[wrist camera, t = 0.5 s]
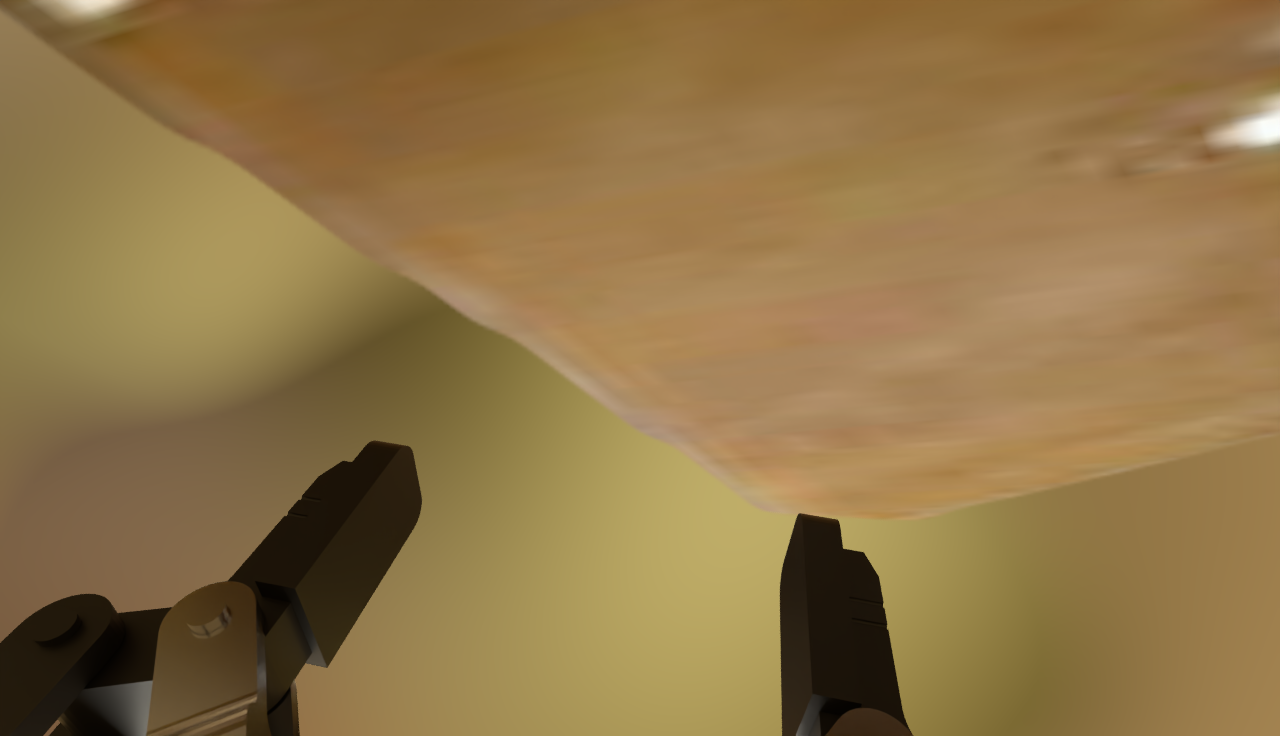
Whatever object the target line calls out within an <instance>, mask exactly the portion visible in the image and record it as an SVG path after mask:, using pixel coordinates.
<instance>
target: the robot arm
mask: <svg viewBox="0 0 1280 736" xmlns="http://www.w3.org/2000/svg"><path fill="white" fill-rule="evenodd" d="M421 505H422V497H421V491H420V486H419V481H418V476H417V471H416V466H415V461H414V455H413V451H412V449H411V448H410V447H409V446H404V445H398V444H392V443H386V442H380V441H371V442H369V443H368V444H367V445H366V446H365V447H364V448H363V450H362V451H361V452H360V453H359V455H358V456H357V457H356V458H355V460H354V461H353V462H347V461H342V462H340V463H339V464H337V465H336V466H334V467H333V468H331V469H329V470H328V471H326V472H325V473H323V474H322V475H320V476H319V477H318V478H317V479H316V480H315V481H314V483H313V484H312V485H311V486H310V487H309V488H308V490H307V491H306V492H305V493H304V494H303V495H302V499H301V500H298V501H297V502H296V503H295V504H294V506H293V507H292V508H291V509H290V510H289V511H288V515H287V516H284V517H283V518H282V519H281V521H280V522H279V523H278V524H277V525H276V526H275V528H274V529H273V530H272V531H271V532H270V533H269V534H268V536H267V537H266V538H265V539H264V540H263V541H262V543H261V544H260V545H259V546H258V547H257V548H256V550H255V551H254V552H253V553H252V554H251V556H249V558H248V559H247V560H246V561H245V562H244V563H243V565H242V566H241V567H240V568H239V569H238V570H237V571H236V573H235V574H234V575H233V576H232V577H231V578H230V579H229V580H228V581H225V582H218V583H214V584H210V585H207V586H204V587H202V588H200V589H197V590H195V591H193V592H192V593H190V594H188V595H187V596H185V597H184V598H183V599H181V600H180V601H179V602H178V603H177V604H176V605H174V606H173V607H170V608H161V609H153V610H143V611H134V612H125V613H117V611H116V610H115V608H114V607H113V606H112V604H111V603H110V601H109V600H108V599H106V598H105V597H103V596H100V595H96V594H80V595H75V596H70V597H67V598H64V599H61V600H58V601H56V602H53V603H51V604H49V605H47V606H45V607H43V608H42V609H40V610H38V611H37V612H35V613H34V614H32V615H31V616H29V617H28V618H27V619H26V620H24V621H23V622H22V623H21V624H20V625H19V626H18V627H17V628H16V629H14V630H13V632H12V633H10V634H9V635H8V636H7V637H6V638H5V639H4V640H3V641H2V642H1V643H0V736H43V735H44V734H45V733H46V732H47V730H48V729H49V728H50V727H51V726H52V725H53V724H54V723H55V721H56V720H57V719H58V720H59V721H60V724H59V725H58V726H57V727H56V728H55V729H54V731H53V732H52V733H51V734H50V736H300V732H299V717H298V701H297V688H296V682H295V678H296V676H297V675H298V673H299V672H300V670H301V669H302V667H303V666H304V664H305V663H307V664H312V665H316V666H321V667H326V668H327V667H328V666H329V664H330V662H331V661H332V659H333V658H334V656H335V654H336V653H337V651H338V650H339V648H340V646H341V645H342V643H343V641H344V640H345V638H346V637H347V635H348V633H349V632H350V630H351V629H352V627H353V625H354V624H355V622H356V621H357V619H358V617H359V616H360V614H361V612H362V611H363V609H364V608H365V606H366V604H367V603H368V601H369V600H370V598H371V596H372V595H373V593H374V592H375V590H376V588H377V587H378V585H379V583H380V582H381V580H382V579H383V577H384V576H385V574H386V572H387V571H388V569H389V567H390V566H391V564H392V563H393V561H394V559H395V558H396V556H397V554H398V553H399V551H400V550H401V548H402V546H403V545H404V543H405V542H406V540H407V538H408V537H409V535H410V534H411V532H412V530H413V529H414V527H415V525H416V523H417V521H418V518H419V515H420V511H421ZM780 632H781V691H782V736H913V735H912V733H911V731H910V729H909V727H908V725H907V723H906V720H905V718H904V714H903V710H902V705H901V699H900V693H899V688H898V682H897V676H896V671H895V665H894V659H893V654H892V648H891V643H890V637H889V631H888V630H887V620H886V614H885V609H884V608H883V597H882V592H881V586H880V581H879V576H878V575H877V573H876V571H875V570H874V568H873V567H872V565H871V563H870V562H869V560H868V559H867V557H866V556H865V554H864V553H863V552H858V551H853V550H847V549H843V545H842V537H841V529H840V524H839V521H838V520H836V519H831V518H825V517H819V516H813V515H807V514H801V513H799V514H798V516H797V518H796V522H795V525H794V529H793V532H792V535H791V539H790V543H789V546H788V549H787V553H786V556H785V559H784V563H783V567H782V573H781V582H780Z"/></svg>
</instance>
